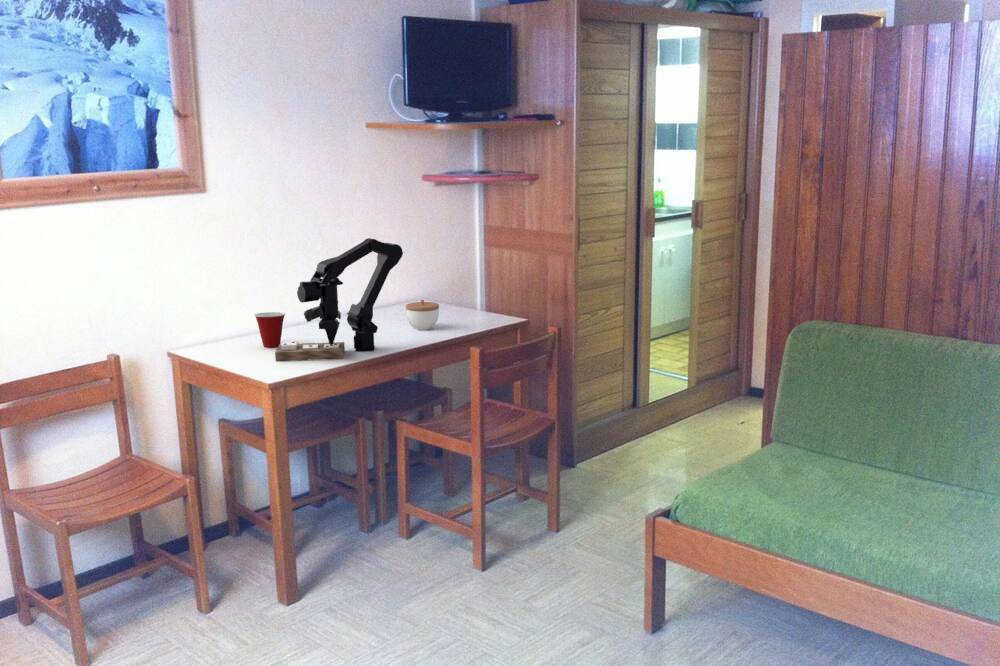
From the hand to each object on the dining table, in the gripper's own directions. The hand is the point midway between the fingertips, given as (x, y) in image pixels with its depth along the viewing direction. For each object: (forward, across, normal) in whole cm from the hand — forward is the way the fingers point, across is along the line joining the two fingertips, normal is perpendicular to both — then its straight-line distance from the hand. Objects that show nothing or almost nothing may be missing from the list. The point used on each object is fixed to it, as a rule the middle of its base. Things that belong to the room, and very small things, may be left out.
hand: (331, 344), depth 322 cm
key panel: (+4, 0, -7) cm, 8 cm away
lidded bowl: (+4, -39, +32) cm, 51 cm away
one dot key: (+2, 0, -7) cm, 7 cm away
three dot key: (+2, 0, 0) cm, 2 cm away
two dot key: (+1, 0, -14) cm, 14 cm away
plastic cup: (+4, -17, -22) cm, 28 cm away
